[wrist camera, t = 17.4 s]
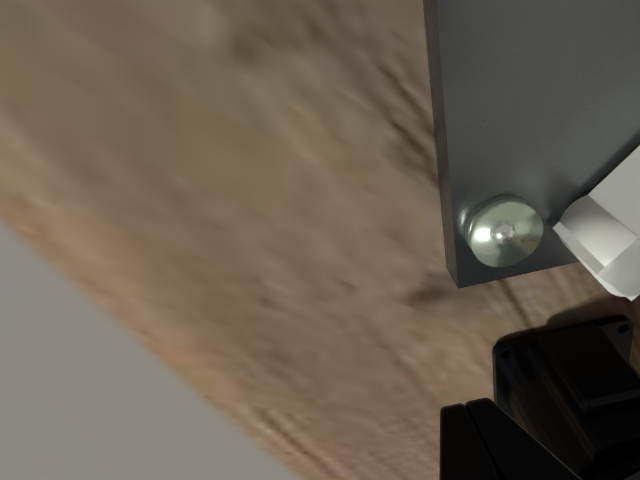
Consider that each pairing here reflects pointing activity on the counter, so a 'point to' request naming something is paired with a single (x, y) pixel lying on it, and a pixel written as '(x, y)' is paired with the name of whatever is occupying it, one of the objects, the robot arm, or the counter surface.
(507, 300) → the counter surface
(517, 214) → the levelling base
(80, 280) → the counter surface
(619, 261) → the white rectangular block
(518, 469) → the robot arm
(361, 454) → the counter surface
